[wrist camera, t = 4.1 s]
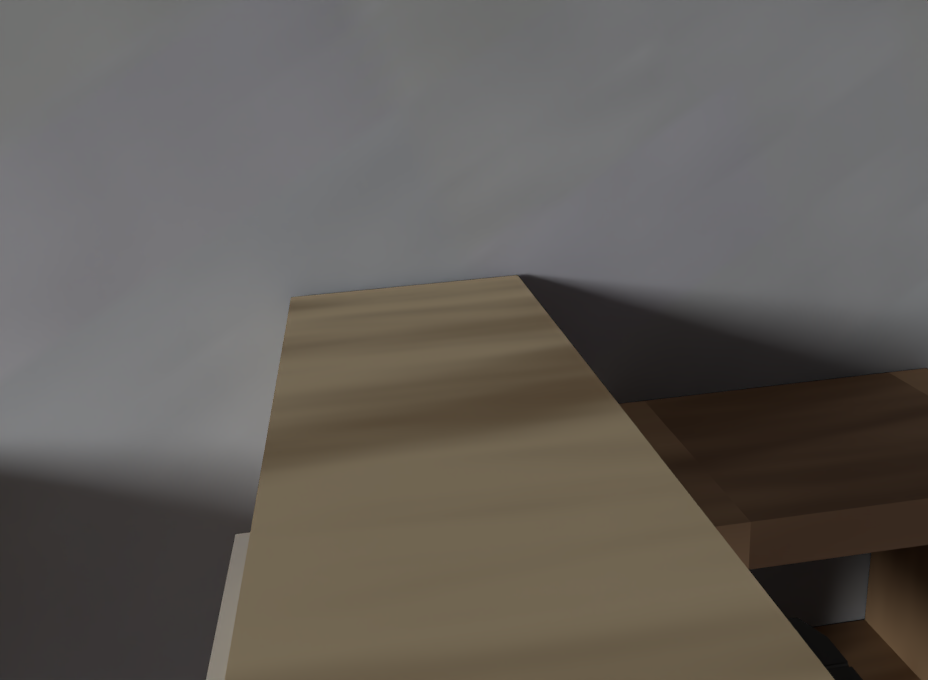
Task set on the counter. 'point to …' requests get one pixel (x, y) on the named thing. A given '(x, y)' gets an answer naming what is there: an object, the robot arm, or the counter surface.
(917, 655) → the holder
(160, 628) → the counter surface
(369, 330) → the tan wooden block
